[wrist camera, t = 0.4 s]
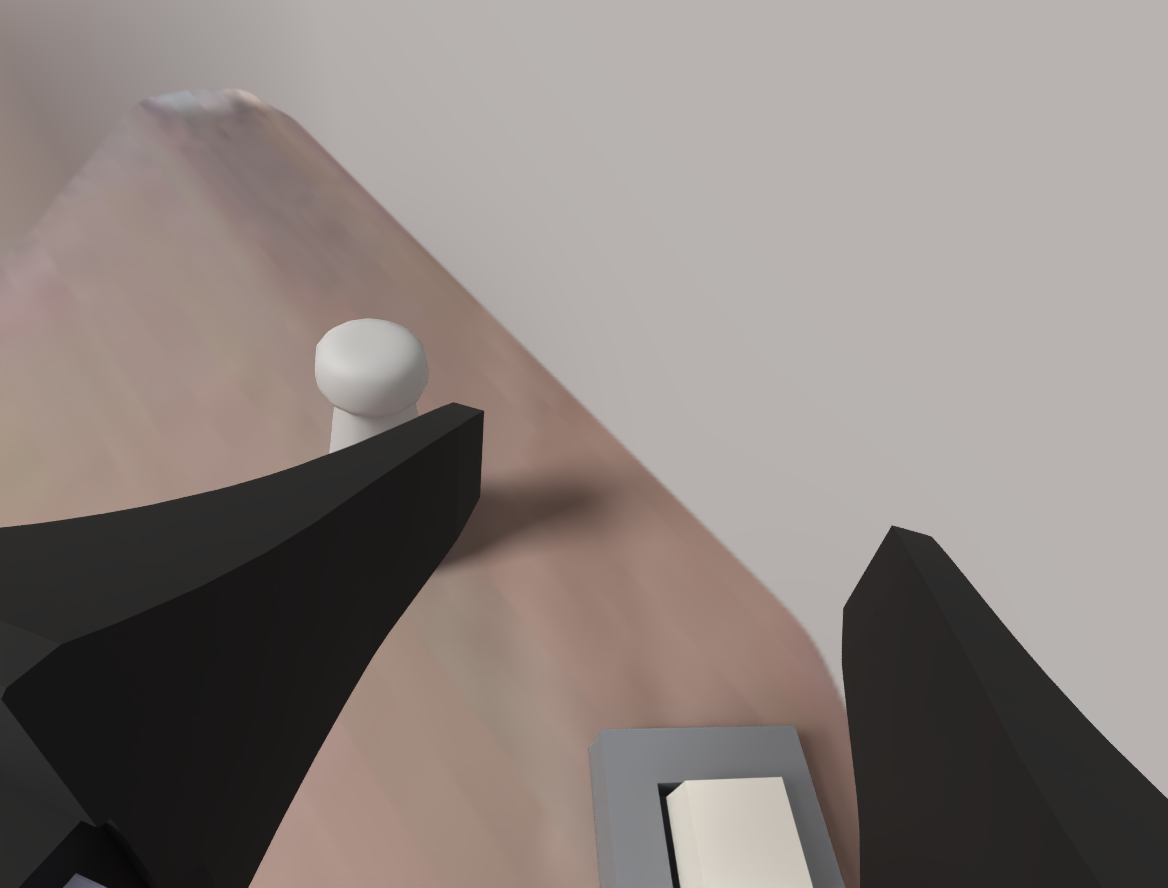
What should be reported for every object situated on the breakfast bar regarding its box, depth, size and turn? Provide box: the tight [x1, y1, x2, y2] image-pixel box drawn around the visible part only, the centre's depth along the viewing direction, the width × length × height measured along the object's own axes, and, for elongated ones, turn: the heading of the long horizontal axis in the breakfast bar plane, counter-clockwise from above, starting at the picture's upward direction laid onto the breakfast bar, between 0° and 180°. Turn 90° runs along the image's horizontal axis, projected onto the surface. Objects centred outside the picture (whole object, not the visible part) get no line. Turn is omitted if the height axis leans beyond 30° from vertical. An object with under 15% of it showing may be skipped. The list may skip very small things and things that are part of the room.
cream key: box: [666, 777, 813, 888], centre depth 22 cm, size 4×4×2 cm
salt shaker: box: [315, 318, 429, 454], centre depth 27 cm, size 6×6×13 cm
